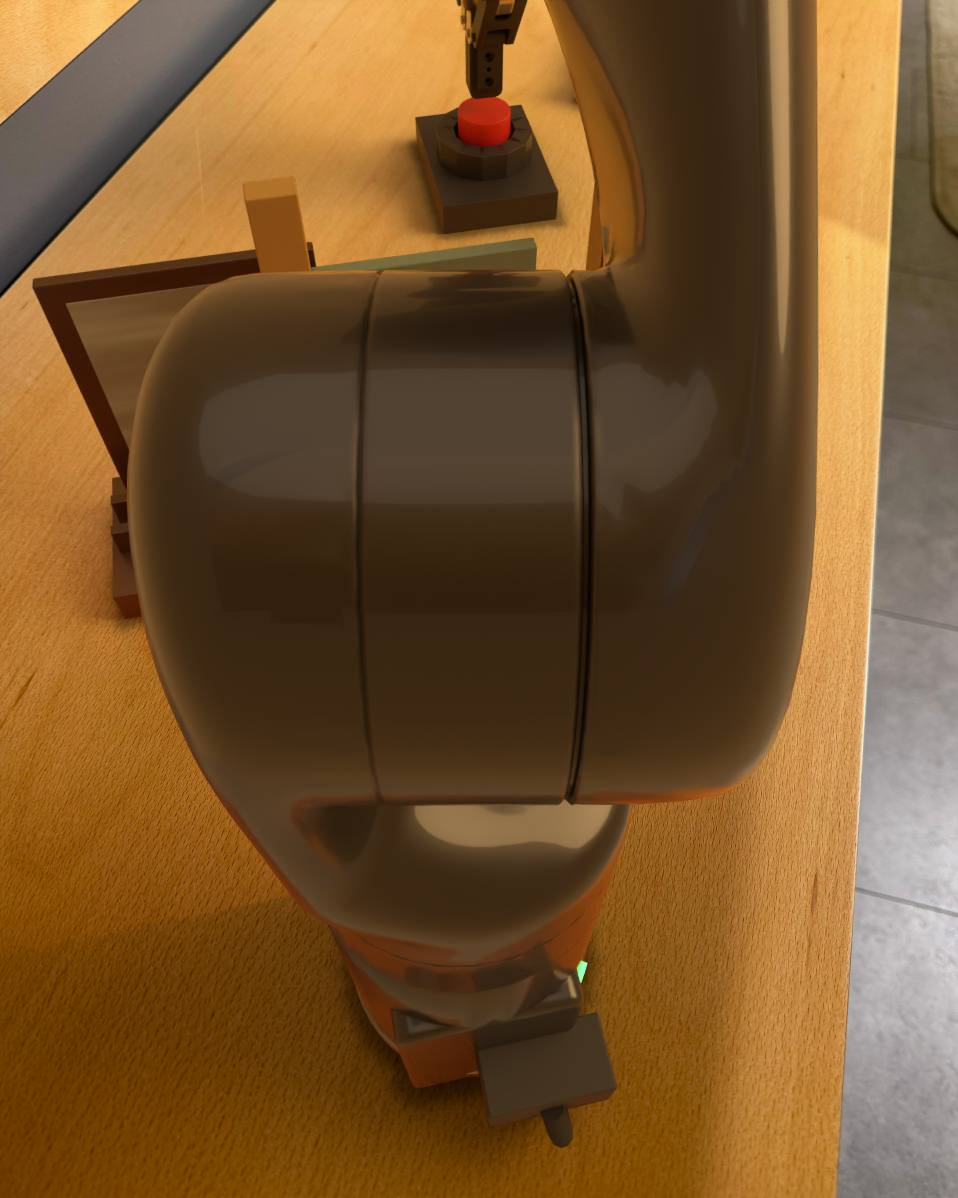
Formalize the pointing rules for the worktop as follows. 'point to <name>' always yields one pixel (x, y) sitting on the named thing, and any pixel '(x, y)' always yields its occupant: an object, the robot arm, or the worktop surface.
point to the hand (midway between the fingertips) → (484, 91)
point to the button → (484, 121)
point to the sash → (287, 251)
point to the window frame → (144, 351)
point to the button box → (485, 175)
